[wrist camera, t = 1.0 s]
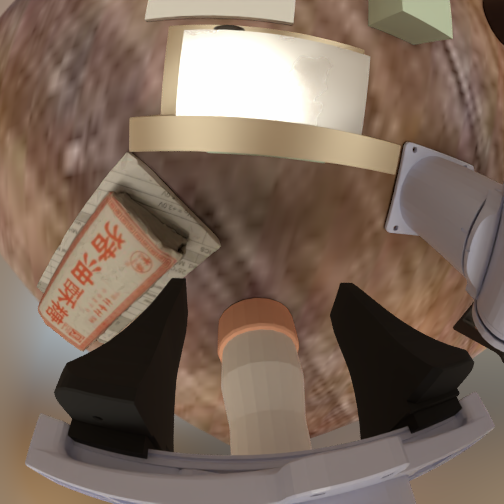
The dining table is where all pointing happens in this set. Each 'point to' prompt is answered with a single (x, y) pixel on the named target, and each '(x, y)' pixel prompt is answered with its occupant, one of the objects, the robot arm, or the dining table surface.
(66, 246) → the packaged product
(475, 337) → the phone stand
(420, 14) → the sage block
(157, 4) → the mat
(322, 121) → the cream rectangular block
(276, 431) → the pepper shaker
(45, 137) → the dining table surface
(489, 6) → the bottle
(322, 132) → the beige box
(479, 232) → the robot arm
